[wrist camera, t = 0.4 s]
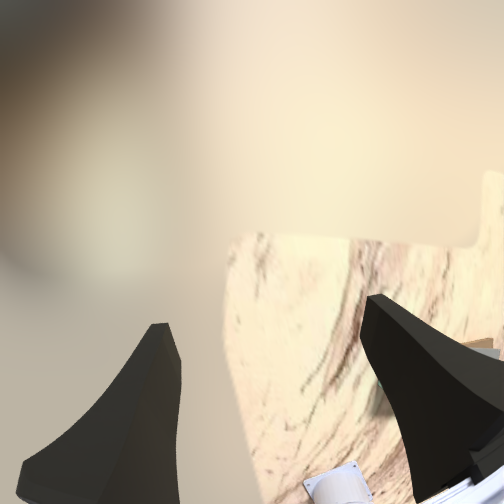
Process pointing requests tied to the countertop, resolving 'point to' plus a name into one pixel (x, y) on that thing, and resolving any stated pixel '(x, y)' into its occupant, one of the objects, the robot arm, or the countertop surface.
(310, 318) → the countertop surface
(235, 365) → the countertop surface
